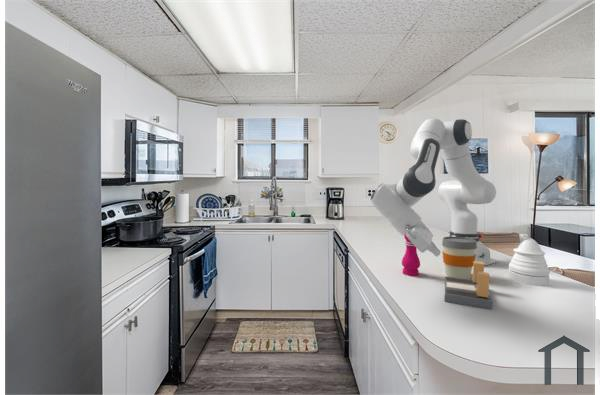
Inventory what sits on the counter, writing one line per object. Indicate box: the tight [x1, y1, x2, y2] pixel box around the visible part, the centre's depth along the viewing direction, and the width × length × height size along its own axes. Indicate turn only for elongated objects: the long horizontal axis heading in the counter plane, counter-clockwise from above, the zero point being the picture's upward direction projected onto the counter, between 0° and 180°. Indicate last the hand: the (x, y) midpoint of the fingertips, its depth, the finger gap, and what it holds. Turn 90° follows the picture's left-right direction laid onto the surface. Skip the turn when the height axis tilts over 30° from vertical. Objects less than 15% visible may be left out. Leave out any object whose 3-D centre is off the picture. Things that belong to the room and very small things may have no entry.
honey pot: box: [507, 233, 550, 287], centre depth 120 cm, size 13×13×18 cm
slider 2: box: [476, 271, 490, 298], centre depth 96 cm, size 3×3×7 cm
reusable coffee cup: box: [441, 236, 477, 280], centre depth 125 cm, size 12×13×15 cm
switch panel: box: [444, 275, 494, 310], centre depth 104 cm, size 13×20×3 cm, turn 155°
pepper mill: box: [401, 234, 421, 277], centre depth 126 cm, size 7×7×20 cm
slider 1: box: [472, 261, 485, 283], centre depth 109 cm, size 3×3×7 cm
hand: (438, 254), depth 101 cm, fingers closed
